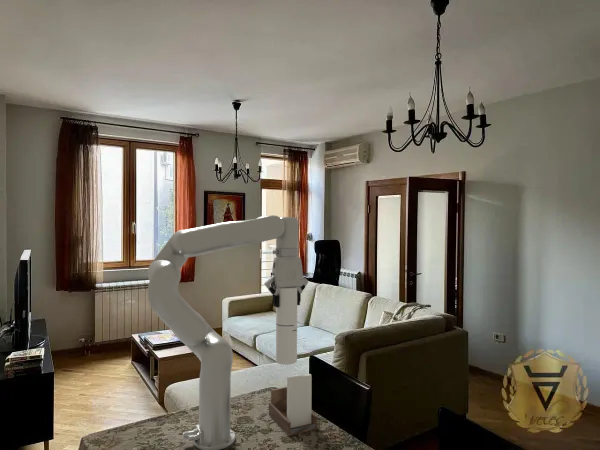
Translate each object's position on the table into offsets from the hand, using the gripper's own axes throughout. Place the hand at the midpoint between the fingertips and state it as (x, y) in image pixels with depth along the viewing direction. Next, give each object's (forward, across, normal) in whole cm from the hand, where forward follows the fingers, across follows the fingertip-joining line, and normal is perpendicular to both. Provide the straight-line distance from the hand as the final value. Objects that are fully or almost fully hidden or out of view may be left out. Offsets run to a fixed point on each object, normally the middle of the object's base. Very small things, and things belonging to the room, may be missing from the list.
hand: (286, 305), depth 136 cm
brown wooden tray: (+40, +3, 0) cm, 40 cm away
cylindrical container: (+19, 0, 0) cm, 19 cm away
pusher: (+39, +2, -5) cm, 39 cm away
